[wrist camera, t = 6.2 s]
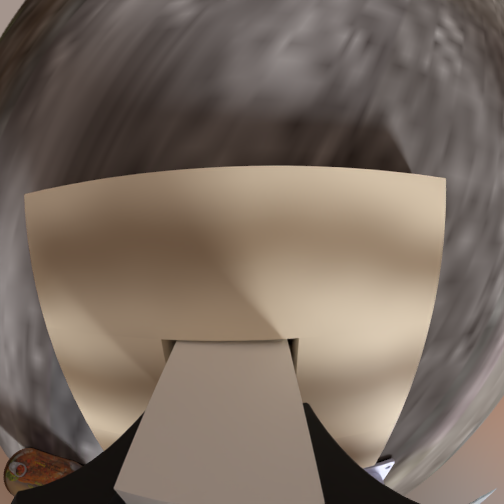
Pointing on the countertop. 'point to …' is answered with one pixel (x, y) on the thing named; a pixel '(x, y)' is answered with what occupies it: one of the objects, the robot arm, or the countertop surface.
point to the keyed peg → (223, 430)
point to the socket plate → (242, 283)
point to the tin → (35, 469)
